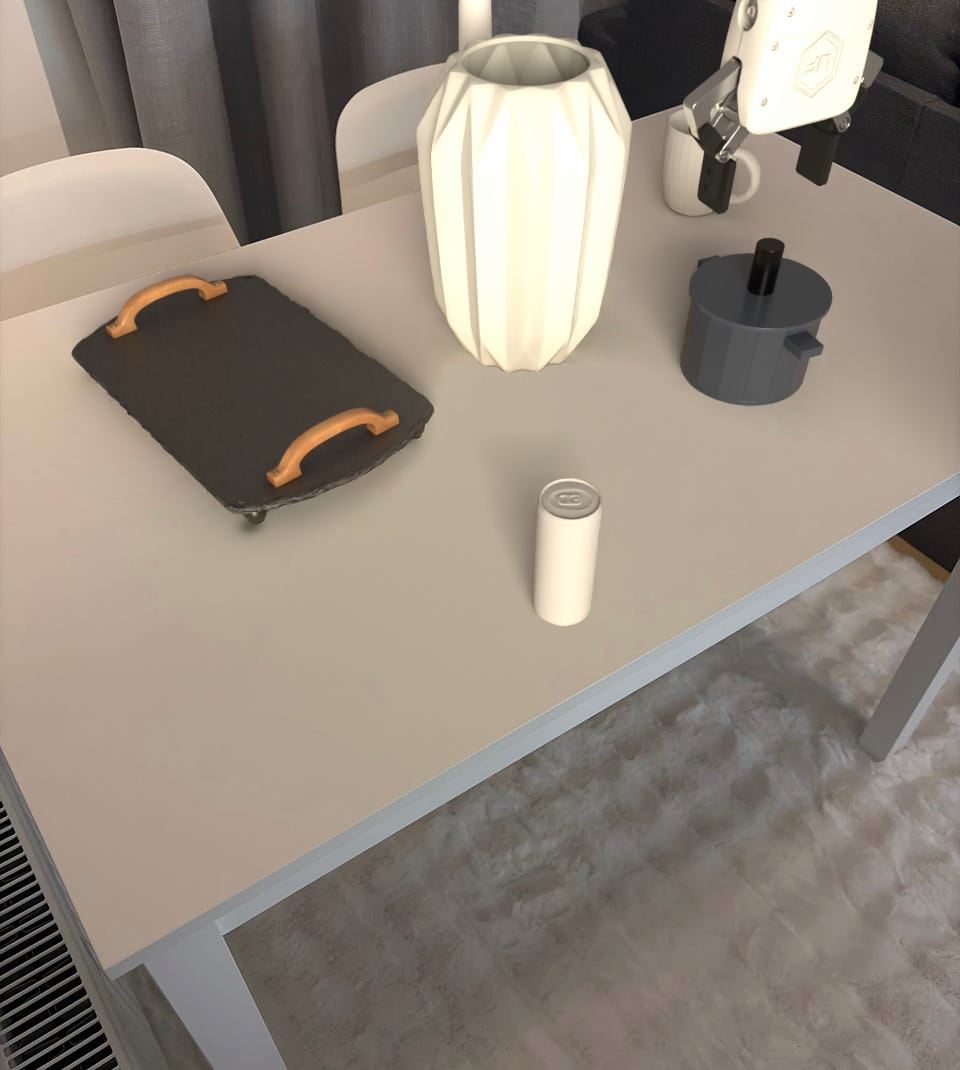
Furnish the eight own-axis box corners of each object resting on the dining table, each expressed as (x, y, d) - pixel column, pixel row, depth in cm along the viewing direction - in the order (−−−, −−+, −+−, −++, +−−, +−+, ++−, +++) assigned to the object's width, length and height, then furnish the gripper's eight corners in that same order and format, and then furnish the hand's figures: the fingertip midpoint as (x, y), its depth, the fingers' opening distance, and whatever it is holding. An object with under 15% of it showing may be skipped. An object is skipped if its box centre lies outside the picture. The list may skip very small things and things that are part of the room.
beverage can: (592, 630, 76) (606, 521, 67) (532, 630, 76) (538, 521, 67) (589, 586, 79) (601, 476, 70) (531, 586, 79) (536, 476, 70)
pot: (744, 311, 105) (760, 237, 99) (845, 401, 95) (871, 325, 88) (645, 338, 102) (655, 264, 96) (738, 434, 92) (757, 358, 85)
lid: (775, 251, 98) (788, 198, 94) (859, 318, 90) (877, 262, 86) (661, 281, 95) (669, 226, 90) (737, 352, 87) (750, 296, 82)
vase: (429, 399, 96) (410, 110, 74) (429, 295, 108) (413, 21, 87) (620, 394, 96) (657, 103, 75) (599, 291, 108) (624, 16, 87)
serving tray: (62, 361, 101) (40, 308, 96) (248, 283, 110) (237, 232, 105) (257, 556, 82) (242, 502, 77) (461, 442, 91) (459, 388, 86)
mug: (643, 208, 120) (653, 125, 113) (678, 182, 125) (690, 100, 117) (733, 237, 116) (750, 153, 108) (766, 208, 120) (785, 125, 112)
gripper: (747, -31, 57) (699, 239, 71) (960, -73, 62) (878, 188, 76) (677, -64, 62) (644, 197, 75) (881, -100, 67) (816, 151, 80)
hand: (761, 192), depth 75 cm, fingers open, 9 cm apart
